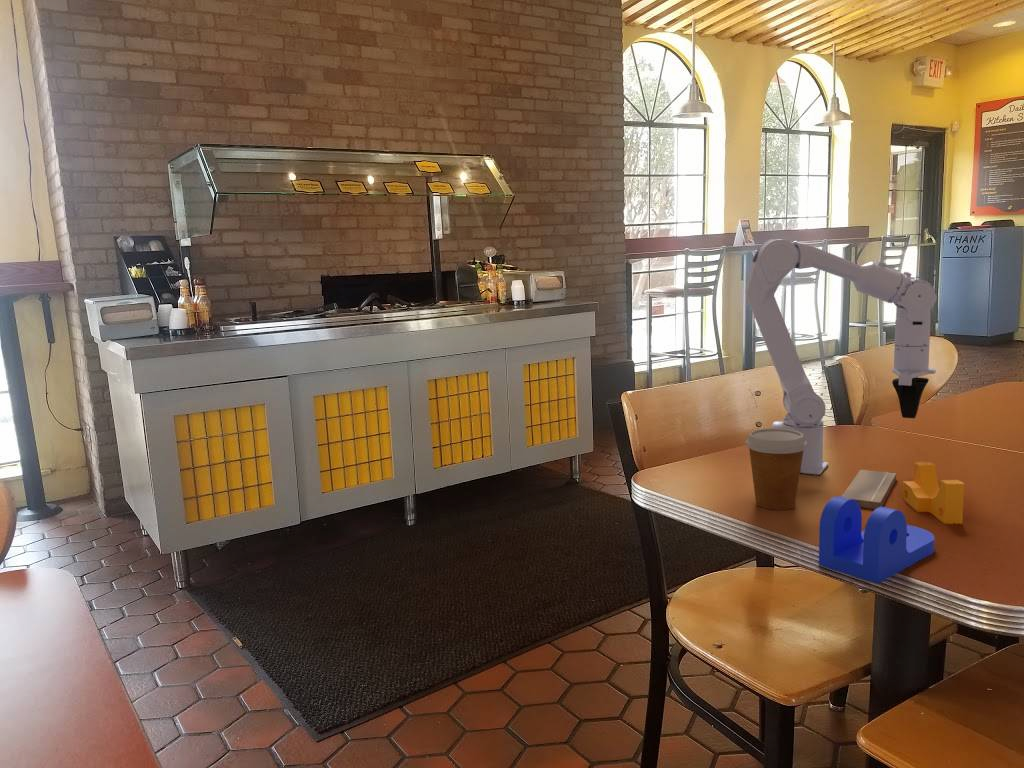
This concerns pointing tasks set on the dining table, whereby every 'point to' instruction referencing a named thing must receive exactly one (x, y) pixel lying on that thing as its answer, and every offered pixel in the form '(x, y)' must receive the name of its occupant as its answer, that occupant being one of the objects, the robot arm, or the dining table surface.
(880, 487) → the board
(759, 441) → the disposable coffee cup
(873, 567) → the bracket
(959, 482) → the pipe clamp
